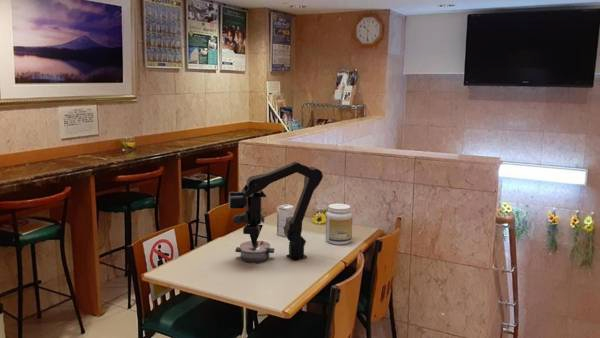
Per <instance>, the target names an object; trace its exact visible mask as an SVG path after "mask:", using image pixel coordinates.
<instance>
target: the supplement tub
mask: <svg viewBox="0 0 600 338" xmlns="http://www.w3.org/2000/svg"><path fill="white" fill-rule="evenodd" d="M327 207H328V208H327V210H328V211H327V212H326V213H325V214H326V216H325V240H326V242H327V243H329V244H333V245H338V246H340V245H348V244H349V243H351V242H352V240H353V237H352V236H353V213H352V211H351V210H352V209H351V208H352V207H351V205H349V204H346V203H331V204H328V206H327Z"/></svg>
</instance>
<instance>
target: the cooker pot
mask: <svg viewBox="0 0 600 338" xmlns="http://www.w3.org/2000/svg"><path fill="white" fill-rule="evenodd" d="M235 253H240V260H241V261H242V262H243V263H247V264H261V263H262V264H263V263H265V262H268V261H269V260H270V254H274V253H275V247H273V248H272V247H270V249H269V250H268V251H265V252H261V253H248V252H244V251H242V250H240V246H239V247H238V246H236V248H235Z"/></svg>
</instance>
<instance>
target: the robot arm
mask: <svg viewBox="0 0 600 338" xmlns="http://www.w3.org/2000/svg"><path fill="white" fill-rule="evenodd" d="M297 173H298V174H300V175H302V176H304V177H303V188H302V190H301V194H300V195H299V199H298V202H297V204H296V207H295V208H294V215H293V217H292V219H291V220H290V221H288V220H286V224H285V226H284V228H283V229H284V234H285V236H286V237H285V238H287V240H288V241H289V244H288V254H286V255H285V256H286V257H287V258H289V259H291V260H293V261H298V260H301V259H306V258H308V256H307V255H305V245H306V243H307V241H306V240H305V238H304V237H303V236H302V233H303V232H302V231H303V221H304V218H305V215H306V213H307V210H308V207H309V204H310V202H311V199H312V196H313V194H314V191H315V190H316V189H317V188H318V186H319V185H320V183H321V181H322V180H323V178H324V174H323V172H322V171H321V169H319V168H317V167H315V166H307V165H304V164H302V163H299V162H298V161H293V162H290V163H289V164H286V165H283V166H281V167H279V168H276V169H274V170H272V171H270V172H267V173H262V174H257V175H252V176H249V177H248V178H247V180H246V183H245V185H244V187H243V188H242V189H241V191H229V194H228V200H227V201H228V209H229V210H231V209H232V210H233V209H244V208H245V207H246V206H247V207H246V211H245V212H243V213H242V212H241V213H237V214H235V215H234V216H233V218H232V220H233V221H232V223H234V226H238V225H240V224H244V223H245V226H244V227H243V228H242V230H243V231H242V233H243V235H249V237H250V241H252V245H255V244H256V241H258V239H259V236H260V234H261V231H262V228H263V227H264V225H263V224H264V223H265V216H264V215H263V214H262V212H263V208H262V198H267V194H266V193H265V192H264V191H263V190H264V189H266V188H267V187H268V186H269V185H270V184H272V183H274V182H277V181H280V180H281V179H284V178H286V177H289V176H291V175H294V174H297ZM261 223H263V224H261Z"/></svg>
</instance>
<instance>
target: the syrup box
mask: <svg viewBox="0 0 600 338" xmlns="http://www.w3.org/2000/svg"><path fill="white" fill-rule="evenodd" d="M276 211H277V212H276V213H277V215H276V217H277V219H276V222H277V223H276V236H279V237H280V236H281V237H284V238H287V237H286V236H285V234H284V229H283V228H284V226H285V224H286V220H288V221H290V220H291V219H292V217H293V215H294V212H295V207H294V205H292V204H285V203H284V204H282V205H279V206H277V210H276Z"/></svg>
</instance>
